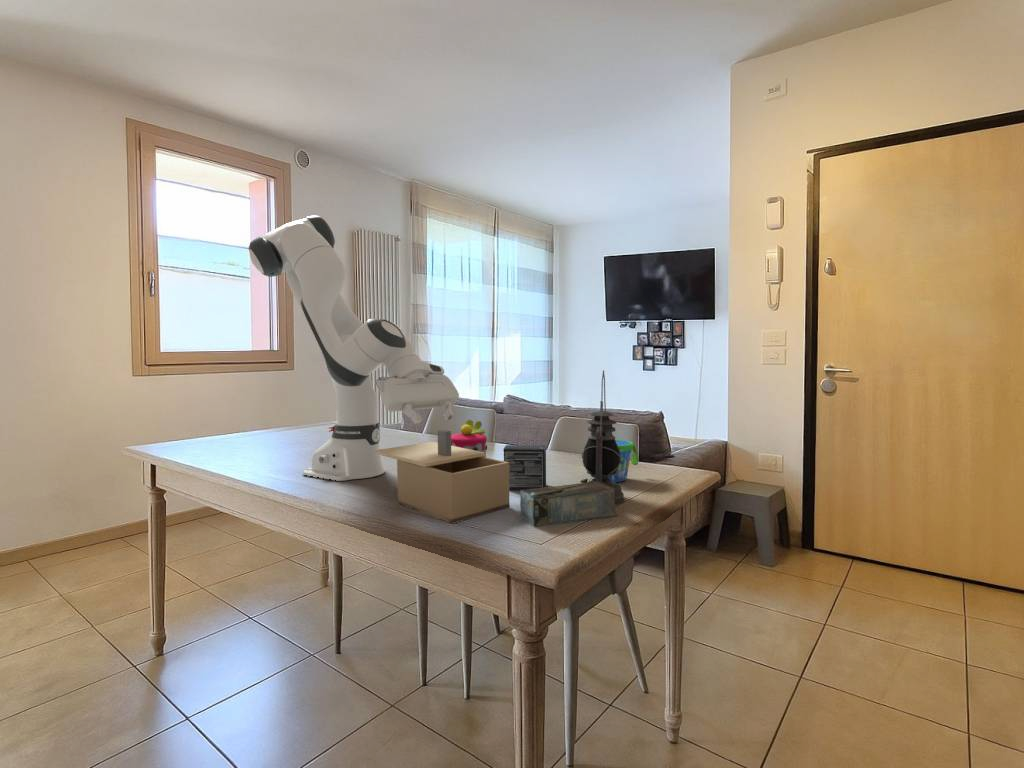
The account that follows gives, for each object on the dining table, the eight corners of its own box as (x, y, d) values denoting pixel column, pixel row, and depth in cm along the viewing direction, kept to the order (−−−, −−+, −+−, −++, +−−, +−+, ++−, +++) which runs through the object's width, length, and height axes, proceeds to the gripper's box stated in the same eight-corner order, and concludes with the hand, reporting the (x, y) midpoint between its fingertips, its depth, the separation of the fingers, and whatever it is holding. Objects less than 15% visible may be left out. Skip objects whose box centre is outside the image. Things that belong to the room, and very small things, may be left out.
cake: (485, 479, 145) (485, 424, 144) (446, 479, 145) (446, 424, 144) (488, 470, 155) (488, 418, 154) (452, 470, 156) (451, 418, 155)
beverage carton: (518, 516, 114) (518, 485, 113) (599, 507, 120) (599, 478, 120) (532, 528, 106) (532, 495, 106) (618, 517, 113) (618, 486, 112)
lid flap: (375, 453, 128) (374, 427, 128) (432, 444, 140) (431, 420, 140) (425, 467, 114) (424, 437, 113) (484, 455, 125) (484, 428, 125)
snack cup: (627, 473, 151) (627, 437, 151) (648, 481, 141) (649, 443, 141) (577, 477, 146) (577, 440, 145) (595, 487, 136) (595, 447, 136)
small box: (546, 484, 139) (546, 444, 139) (545, 491, 133) (545, 449, 132) (506, 483, 140) (505, 443, 140) (503, 490, 134) (503, 448, 133)
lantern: (582, 490, 133) (582, 369, 131) (626, 493, 130) (627, 369, 128) (574, 504, 121) (575, 371, 119) (623, 508, 118) (624, 371, 116)
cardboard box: (397, 503, 123) (397, 459, 122) (453, 490, 134) (453, 450, 133) (452, 523, 108) (451, 474, 108) (509, 506, 120) (509, 462, 119)
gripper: (378, 368, 123) (403, 415, 117) (447, 366, 138) (473, 408, 132) (367, 386, 127) (391, 432, 121) (436, 383, 142) (460, 424, 136)
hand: (434, 419), depth 127 cm, fingers open, 8 cm apart
